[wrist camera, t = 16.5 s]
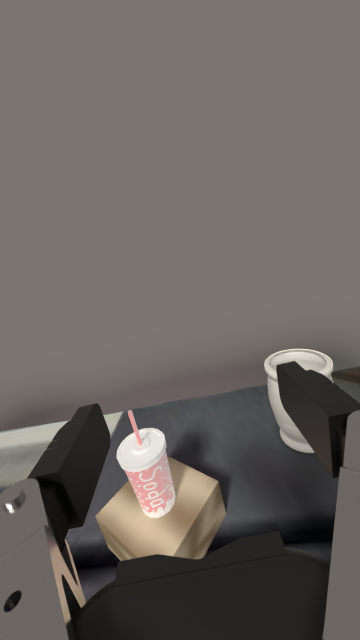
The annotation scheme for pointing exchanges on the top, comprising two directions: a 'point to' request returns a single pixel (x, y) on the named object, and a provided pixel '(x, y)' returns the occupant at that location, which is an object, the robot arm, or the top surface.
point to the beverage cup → (148, 469)
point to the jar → (287, 427)
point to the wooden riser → (165, 518)
